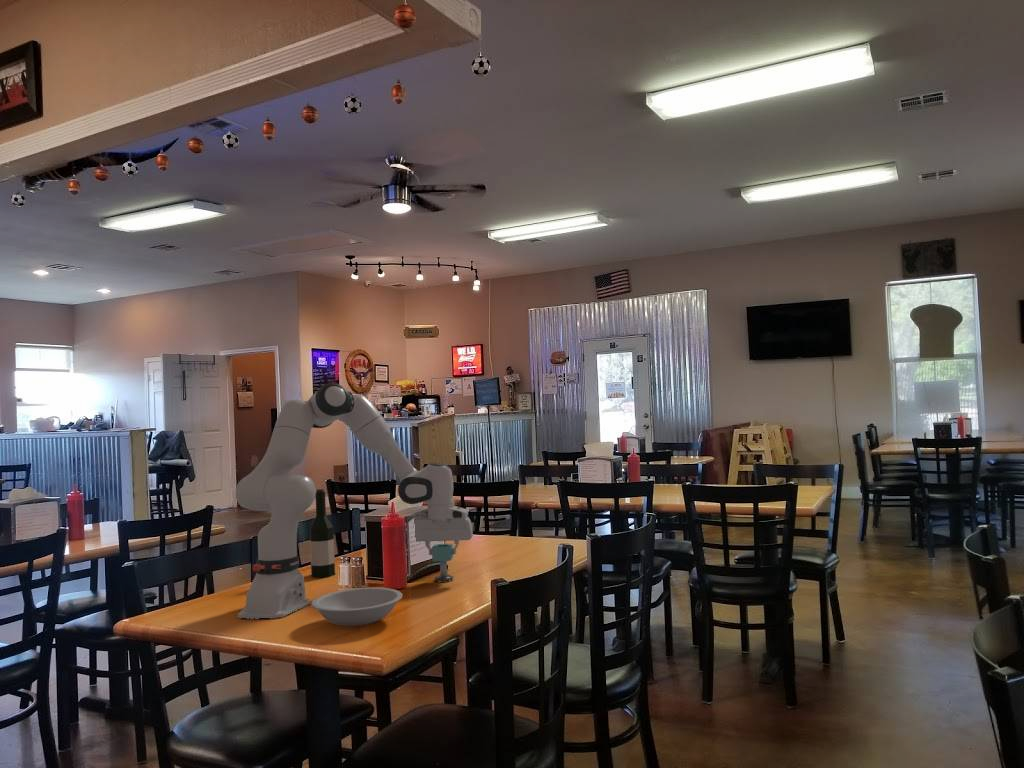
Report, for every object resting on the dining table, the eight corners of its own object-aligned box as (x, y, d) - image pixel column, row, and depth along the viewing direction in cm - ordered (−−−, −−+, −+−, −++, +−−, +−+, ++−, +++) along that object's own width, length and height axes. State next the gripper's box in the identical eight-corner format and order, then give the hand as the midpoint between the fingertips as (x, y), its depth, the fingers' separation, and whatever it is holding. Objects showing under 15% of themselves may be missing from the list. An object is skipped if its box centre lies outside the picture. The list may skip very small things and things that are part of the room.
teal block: (450, 560, 245) (449, 547, 245) (432, 561, 245) (431, 547, 245) (453, 557, 251) (452, 543, 251) (435, 557, 251) (435, 544, 251)
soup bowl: (364, 606, 219) (363, 583, 219) (421, 618, 204) (420, 593, 204) (293, 627, 201) (292, 602, 201) (351, 642, 185) (350, 615, 186)
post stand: (451, 582, 245) (450, 562, 245) (433, 582, 245) (432, 562, 245) (454, 577, 250) (453, 558, 251) (436, 578, 251) (435, 558, 251)
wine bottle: (331, 577, 259) (328, 490, 260) (307, 578, 259) (304, 491, 260) (338, 572, 268) (334, 487, 268) (314, 573, 268) (311, 488, 269)
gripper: (408, 514, 246) (409, 557, 246) (470, 512, 245) (471, 555, 244) (412, 511, 253) (413, 553, 252) (472, 509, 251) (474, 551, 251)
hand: (442, 554), depth 248 cm, fingers closed on teal block, 6 cm apart
